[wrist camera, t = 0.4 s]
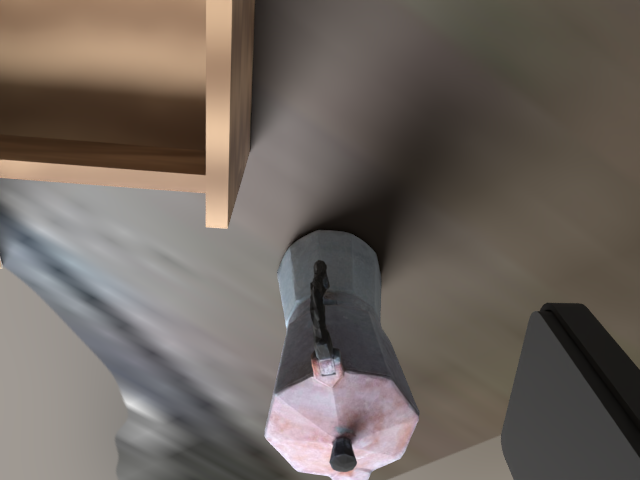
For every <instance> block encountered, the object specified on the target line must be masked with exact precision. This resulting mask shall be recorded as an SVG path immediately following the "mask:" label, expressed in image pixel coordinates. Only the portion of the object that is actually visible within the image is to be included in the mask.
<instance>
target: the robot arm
mask: <svg viewBox="0 0 640 480" xmlns="http://www.w3.org/2000/svg"><path fill="white" fill-rule="evenodd" d="M501 445H502V450H503V454H504V457H505V460H506V462H507V464H508V467H509V469H510V472H511V474H512V476H513V479H514V480H640V370H639V369H638V367H637V366H636V365H635V364H634V363H633V362H632V360H631V359H630V358H629V357H628V356H627V354H626V353H625V352H624V351H623V350H622V348H621V347H620V346H619V345H618V344H617V343H616V341H615V340H614V339H613V338H612V337H611V335H610V334H609V333H608V332H607V331H606V330H605V328H604V327H603V326H602V325H601V324H600V322H599V321H598V320H597V319H596V318H595V317H594V315H593V314H592V313H591V312H590V311H589V309H588V308H587V307H586V306H584V305H583V304H579V303H546V304H544V305H543V306H542V308H541V310H540V311H535V312H533V313H532V314H531V316H530V319H529V322H528V326H527V330H526V335H525V339H524V343H523V347H522V351H521V355H520V359H519V363H518V367H517V371H516V376H515V380H514V384H513V388H512V392H511V396H510V400H509V404H508V408H507V412H506V417H505V421H504V425H503V429H502V434H501Z"/></svg>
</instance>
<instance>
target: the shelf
mask: <svg viewBox="0 0 640 480" xmlns="http://www.w3.org/2000/svg"><path fill="white" fill-rule="evenodd" d="M254 15H255V0H0V178H10V179H23V180H36V181H50V182H63V183H76V184H90V185H103V186H117V187H130V188H143V189H157V190H170V191H183V192H197V193H206V227H212V228H226V229H228V225H229V222H230V218H231V215H232V211H233V208H234V204H235V201H236V198H237V194H238V191H239V187H240V184H241V180H242V177H243V173H244V170H245V167H246V163H247V160H248V156H249V151H250V124H251V97H252V69H253V42H254Z"/></svg>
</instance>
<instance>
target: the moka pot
mask: <svg viewBox="0 0 640 480" xmlns="http://www.w3.org/2000/svg"><path fill="white" fill-rule="evenodd" d="M277 273H278V281H279V287H280V293H281V300H282V305H283V310H284V316H285V323H286V328H287V332H286V337H285V341H284V346H283V350H282V355H281V359H280V364H279V368H278V373H277V378H276V382H275V387H274V391H273V396H272V400H271V405H270V409H269V414H268V418H267V423H266V428H265V433H264V435H265V438H266V439H267V440H268V442H269V443H270V444H271V445H272V446H273V447H274V448H275V449H276V450H277V451H278V452H279V453H280V454H281V455H282V456H283V457H284V458H285V459H286V460H287V461H288V462H289V463H290V464H291V466H292V467H293V468H294V469H296V470H297V471H298V472H304V473H311V474H317V475H325V476H330V477H331V478H332V479H333V480H368V479H369V476H370V474H371V472H372V471H373V470H375V469H377V468H379V467H382V466H384V465H387V464H389V463H391V462H394V461H396V460H398V459H400V458H401V457H402V456H403V454H404V453H405V450H406V448H407V446H408V443H409V441H410V438H411V436H412V434H413V431H414V429H415V427H416V425H417V422H418V420H419V410H418V408H417V405H416V403H415V401H414V398H413V396H412V393H411V391H410V388H409V386H408V383H407V381H406V378H405V376H404V374H403V371H402V369H401V366H400V364H399V362H398V359H397V357H396V354H395V352H394V349H393V347H392V344H391V342H390V340H389V338H388V337H387V335H386V334H385V332H384V331H383V330H382V327H381V323H380V310H381V274H380V269H379V264H378V259H377V255H376V253H375V252H374V251H373V249H372V248H371V247H370V246H369V245H368V244H367V243H365V242H364V241H363V240H361V239H359V238H358V237H356V236H355V235H353V234H350V233H347V232H342V231H332V230H317V231H315V232H312V233H310V234H308V235H306V236H304V237H302V238H301V239H299V240H297V241H296V242H295V243H294V244H292V245H291V246H290V247H289V248H288V250H287V251H286V253H285V255H284V257H283V260H282V262H281V264H280V267H279V269H278V272H277Z"/></svg>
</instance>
